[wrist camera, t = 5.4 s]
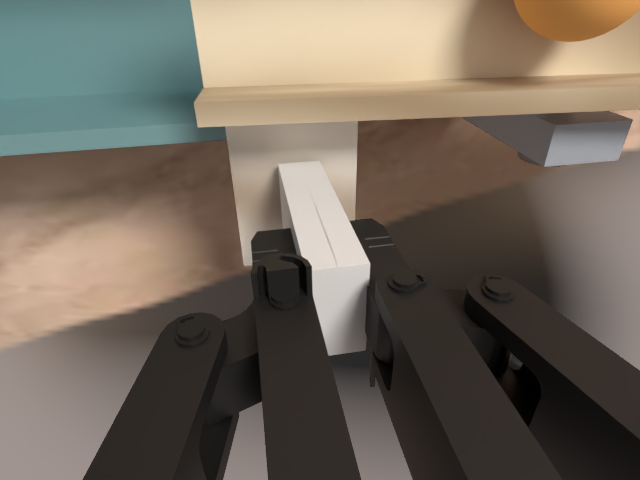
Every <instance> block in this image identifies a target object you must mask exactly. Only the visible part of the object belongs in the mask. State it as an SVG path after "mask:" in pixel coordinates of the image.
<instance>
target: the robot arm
mask: <svg viewBox="0 0 640 480" xmlns="http://www.w3.org/2000/svg"><path fill="white" fill-rule="evenodd" d="M278 171H279V185H280V199H281V213H282V226H283V229H276V230H266V231H257V232H256V234H255V235H254V237H253V239H252V240H251V251H252V264H253V267H252V271H251V278H252V286H253V294H254V300H253V302H252V304H251V305H250V306H249V307H248V308H247V310H245V311H244V312H242V313H241V314H239V315H237V316H235V317H233V318H231V319H228V320H225V321H223V322H222V321H221V319H219V318H218V317H216V316H214V315H213V314H207V313H194V314H188V315H185V316H182V317H179V318H177V319H176V320H174V321H173V322H171V323H170V324H168V325H167V326H166V328H165V329H164V330H163V331H162V332H161V334H160V336H159V338H158V340H157V341H156V344H155V345H154V347H153V349H152V351H151V353H150V355H149V356H148V358H147V360H146V362H145V364H144V366H143V368H142V370H141V371H140V373H139V375H138V377H137V379H136V381H135V383H134V385H133V386H132V388H131V390H130V392H129V394H128V396H127V398H126V399H125V401H124V403H123V405H122V407H121V409H120V411H119V413H118V414H117V416H116V418H115V420H114V422H113V424H112V426H111V428H110V430H109V431H108V433H107V435H106V437H105V439H104V441H103V443H102V445H101V446H100V448H99V450H98V452H97V454H96V456H95V458H94V459H93V461H92V463H91V465H90V467H89V469H88V471H87V473H86V475H85V476H84V478H83V480H223V477H224V473H225V469H226V466H227V462H228V458H229V454H230V450H231V446H232V442H233V438H234V434H235V430H236V426H237V422H238V418H239V412H240V411H242V410H244V409H246V408H249V407H251V406H253V405H255V404H257V403H259V402H261V401H262V405H263V419H264V431H265V445H266V457H267V470H268V480H361V477H360V473H359V469H358V466H357V462H356V458H355V454H354V450H353V447H352V443H351V439H350V435H349V432H348V428H347V424H346V420H345V416H344V413H343V409H342V405H341V402H340V397H339V394H338V390H337V386H336V383H335V378H334V375H333V371H332V368H331V363H330V359H329V355H336V354H343V353H350V352H357V351H363V350H366V335H367V337H368V340H369V343H370V345H371V348H372V350H371V351H372V352H371V365H370V387H373V386H375V377H376V379H377V382H378V385H379V387H380V390H381V393H382V396H383V398H384V401H385V404H386V407H387V410H388V412H389V415H390V418H391V421H392V423H393V426H394V429H395V431H396V434H397V437H398V440H399V443H400V446H401V448H402V451H403V454H404V457H405V459H406V462H407V465H408V467H409V470H410V473H411V476H412V478H413V480H640V371H639V370H638V369H637V368H635V367H634V366H632V365H631V364H630V363H628V362H627V361H625V360H624V359H623V358H621V357H620V356H619V355H617V354H616V353H614V352H613V351H612V350H610V349H609V348H607V347H606V346H605V345H603V344H602V343H601V342H599V341H598V340H596V339H595V338H594V337H592V336H591V335H589V334H588V333H587V332H585V331H584V330H582V329H581V328H579V327H578V326H577V325H576V324H574V323H573V322H571V321H570V320H569V319H567V318H566V317H564V316H563V315H562V314H560V313H559V312H557V311H556V310H555V309H553V308H552V307H550V306H549V305H548V304H546V303H545V302H544V301H542V300H541V299H539V298H538V297H537V296H535V295H534V294H532V293H531V292H530V291H528V290H527V289H525V288H524V287H522V286H521V285H520V284H518V283H516V282H515V281H513V280H511V279H509V278H505V277H502V276H498V275H481V276H477V277H475V278H473V279H471V280H470V282H469V283H468V285H467V289H466V291H463V290H453V289H444V288H437V287H435V286H434V285H433V283H432V282H431V280H430V279H428V278H427V277H426V276H425V275H424V274H422V273H420V272H418V271H416V270H412V269H410V268H409V267H408V265H407V264H406V262H405V260H404V259H403V257H402V256H401V254H400V252H399V251H398V249H397V248H396V246H395V245H394V243H393V241H392V240H391V238H390V237H389V235H388V233H387V231H386V230H385V228H384V227H383V226H382V225H381V224H379V223H378V222H376V221H375V220H373V219H362V220H352V221H349V219H348V217H347V215H346V213H345V211H344V209H343V207H342V205H341V203H340V201H339V199H338V197H337V195H336V193H335V191H334V189H333V187H332V185H331V183H330V181H329V179H328V177H327V175H326V173H325V171H324V169H323V167H322V165H321V163H320V161H306V162H294V163H282V164H278ZM512 354H513V355H514V356H516V357H517V359H519V360H520V361H521V362H522V363H523V364H522V367H521V366H518V365H516V364H515V363H514V362H513V361H511V356H512Z"/></svg>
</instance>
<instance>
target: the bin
mask: <svg viewBox="0 0 640 480" xmlns="http://www.w3.org/2000/svg"><path fill="white" fill-rule="evenodd" d="M203 88H204V87H203V80H202V74H201V67H200V61H199V54H198V48H197V41H196V35H195V28H194V22H193V15H192V9H191V2H190V0H0V156H9V155H23V154H37V153H51V152H65V151H79V150H93V149H107V148H121V147H135V146H149V145H163V144H177V143H191V142H205V141H219V140H227V137H226V130H225V126H222V127H198V126H197V120H196V114H195V108H194V101H195V100H196V98H197V97H198V95H199V94H200V92H201V91H202V89H203Z"/></svg>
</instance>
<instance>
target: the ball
mask: <svg viewBox="0 0 640 480" xmlns="http://www.w3.org/2000/svg"><path fill="white" fill-rule="evenodd" d="M514 2H515V6H516V9H517V11H518V13H519V15H520V17H521V18H522V19H523V21H524V22H525V23H526V25H527V26H528V27H530V28H531V29H532V30H533V31H534V32H536V33H537V34H539V35H541V36H543V37H546V38H548V39H551V40H556V41H562V42H575V41H584V40H588V39H592V38H595V37H598V36H600V35H603V34H606V33H608V32H609V31H611V30H613V29H615V28H617V27H619V26H620V25H621V24H623V23H624V22H626V21H627V20H628V19H630V18H631V17H632V16H633V15H634V14H635V13H637V12H638V11H639V10H640V0H514Z"/></svg>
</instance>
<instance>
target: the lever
mask: <svg viewBox="0 0 640 480" xmlns="http://www.w3.org/2000/svg"><path fill="white" fill-rule="evenodd" d="M190 2H191V9H192V15H193V22H194V28H195V35H196V41H197V48H198V54H199V61H200V67H201V74H202V80H203V87H204V88H203V89H202V91H201V92H200V94H199V95H198V97H197V98H196V100H195V101H194V108H195V114H196V120H197V126H198V127H222V126H225V130H226V137H227V145H228V152H229V159H230V167H231V174H232V182H233V189H234V197H235V204H236V212H237V219H238V226H239V234H240V241H241V249H242V256H243V264H244V266H253V264H252V251H251V240H252V239H253V237H254V235H255V234H256V232H257V231H266V230H276V229H283V226H282V213H281V199H280V185H279V171H278V164H282V163H294V162H306V161H320V163H321V165H322V167H323V169H324V171H325V173H326V175H327V177H328V179H329V181H330V183H331V185H332V187H333V189H334V191H335V193H336V195H337V197H338V199H339V201H340V203H341V205H342V207H343V209H344V211H345V213H346V215H347V217H348V219H349V221H352V220H355V204H356V172H357V140H358V121H371V120H396V119H420V118H445V117H470V116H495V115H519V114H544V113H569V112H594V111H619V110H640V10H639V11H638V12H637V13H635V14H634V15H633V16H632V17H631V18H630V19H628V20H627V21H626V22H624V23H623V24H621V25H620V26H619V27H617V28H615V29H613V30H611V31H609V32H608V33H606V34H603V35H600V36H598V37H595V38H592V39H588V40H584V41H575V42H562V41H556V40H551V39H548V38H546V37H543V36H541V35H539V34H537V33H536V32H534V31H533V30H532V29H531V28H530V27H528V26H527V25H526V23H525V22H524V21H523V19H522V18H521V17H520V15H519V13H518V11H517V9H516V6H515V2H514V0H190Z"/></svg>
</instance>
